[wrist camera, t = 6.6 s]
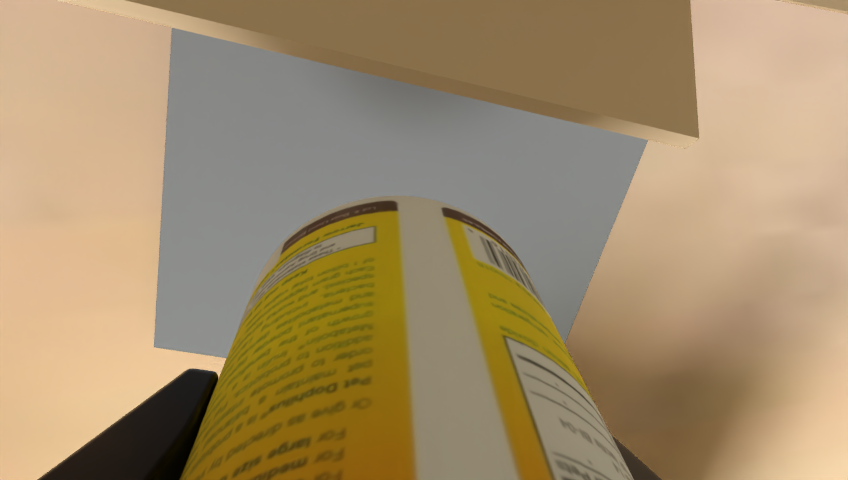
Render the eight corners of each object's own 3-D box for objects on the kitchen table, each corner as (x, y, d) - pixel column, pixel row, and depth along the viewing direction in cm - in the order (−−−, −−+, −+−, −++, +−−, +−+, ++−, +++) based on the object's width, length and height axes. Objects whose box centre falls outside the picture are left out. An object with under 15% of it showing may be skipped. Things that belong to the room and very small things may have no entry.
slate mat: (164, 329, 19) (153, 347, 18) (190, -71, 14) (177, -74, 13) (532, 386, 21) (539, 404, 20) (664, 54, 16) (681, 59, 15)
